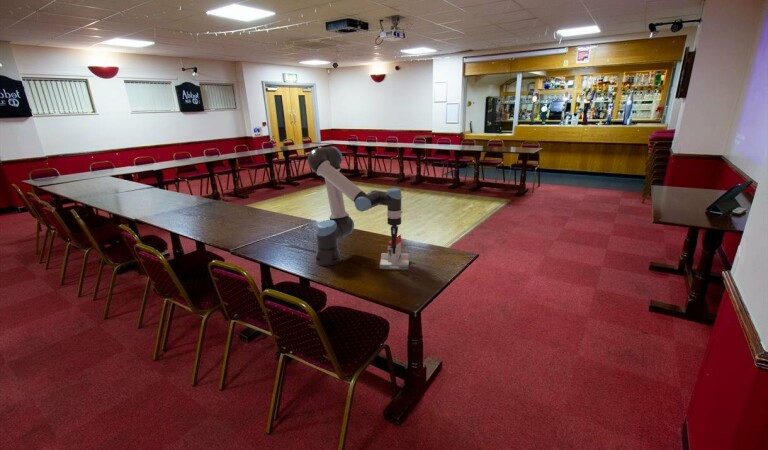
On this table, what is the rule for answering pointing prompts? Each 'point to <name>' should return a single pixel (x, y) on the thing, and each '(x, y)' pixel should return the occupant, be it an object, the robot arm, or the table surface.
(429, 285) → the table surface
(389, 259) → the ink box
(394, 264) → the shelf
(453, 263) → the table surface
